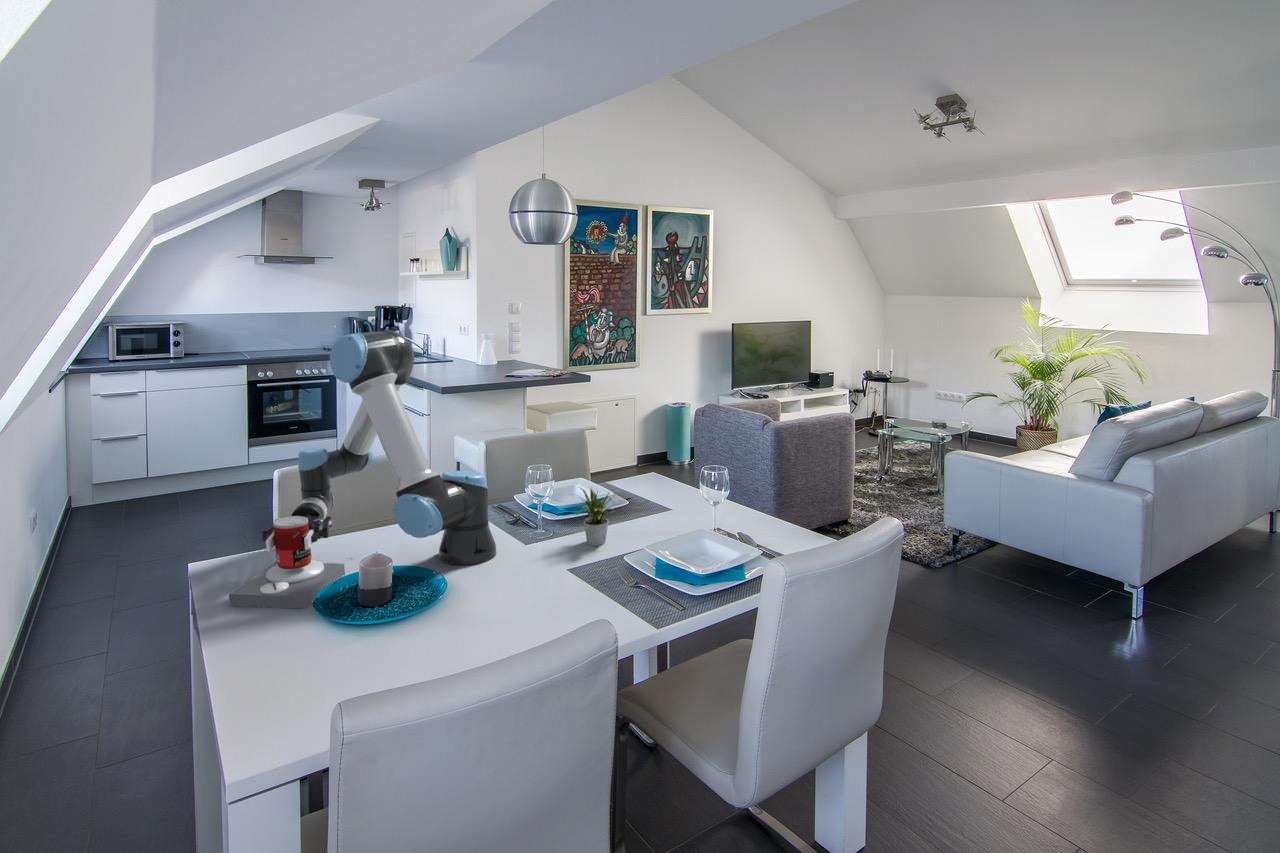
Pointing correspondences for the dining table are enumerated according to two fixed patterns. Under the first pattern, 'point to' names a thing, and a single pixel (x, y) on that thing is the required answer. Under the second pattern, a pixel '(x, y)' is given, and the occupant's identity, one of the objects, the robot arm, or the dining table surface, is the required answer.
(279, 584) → the kitchen scale
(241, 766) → the dining table surface
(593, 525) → the house plant
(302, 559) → the canned food
